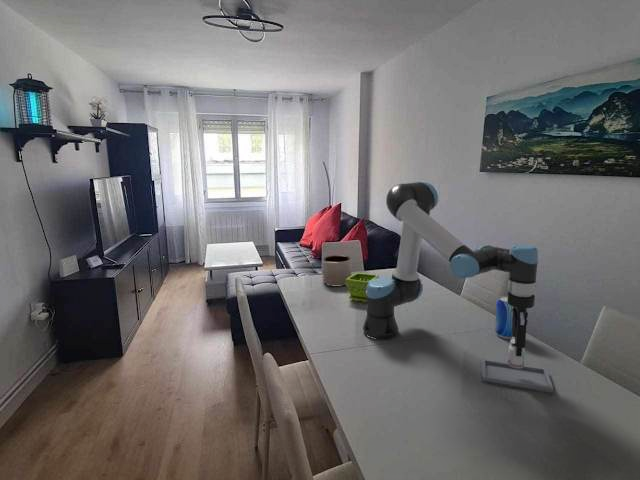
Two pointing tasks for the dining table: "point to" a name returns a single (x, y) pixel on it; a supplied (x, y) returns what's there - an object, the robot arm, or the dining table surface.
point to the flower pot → (359, 286)
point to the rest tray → (516, 376)
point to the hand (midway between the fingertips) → (516, 359)
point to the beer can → (504, 318)
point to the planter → (336, 269)
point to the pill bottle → (510, 356)
